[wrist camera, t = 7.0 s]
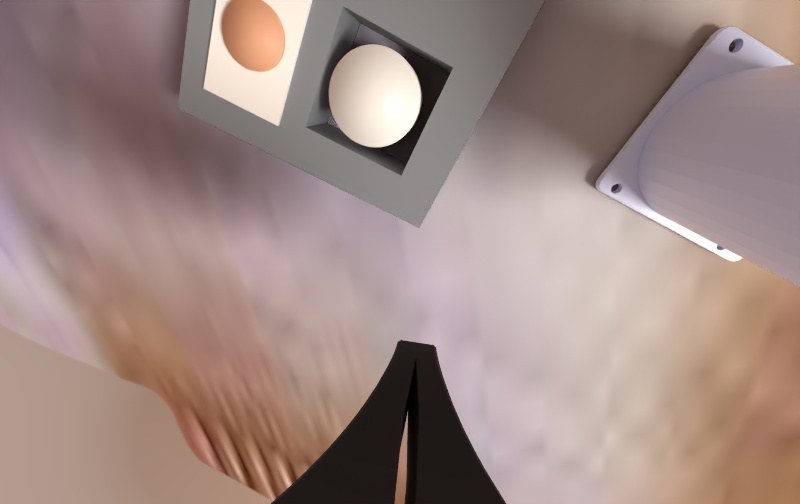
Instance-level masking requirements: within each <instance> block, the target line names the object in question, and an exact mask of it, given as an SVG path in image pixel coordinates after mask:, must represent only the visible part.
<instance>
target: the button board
mask: <svg viewBox="0 0 800 504" xmlns="http://www.w3.org/2000/svg"><path fill="white" fill-rule="evenodd" d="M544 1H545V0H190V5H189V13H188V22H187V31H186V40H185V48H184V57H183V66H182V74H181V83H180V92H179V100H178V109H180V110H182V111H184V112H186V113H188V114H190V115H192V116H194V117H196V118H198V119H200V120H202V121H204V122H206V123H208V124H210V125H212V126H214V127H216V128H218V129H220V130H222V131H224V132H226V133H228V134H230V135H232V136H234V137H236V138H238V139H240V140H242V141H244V142H246V143H248V144H250V145H252V146H254V147H257V148H259V149H261V150H263V151H265V152H267V153H269V154H271V155H273V156H275V157H277V158H279V159H281V160H283V161H285V162H287V163H289V164H291V165H293V166H295V167H297V168H299V169H301V170H303V171H305V172H307V173H309V174H311V175H313V176H315V177H317V178H319V179H321V180H323V181H325V182H327V183H329V184H331V185H333V186H335V187H337V188H339V189H341V190H344V191H346V192H348V193H350V194H352V195H354V196H356V197H358V198H360V199H362V200H364V201H366V202H368V203H370V204H372V205H374V206H376V207H378V208H380V209H382V210H384V211H386V212H388V213H390V214H392V215H394V216H396V217H398V218H400V219H402V220H404V221H406V222H408V223H410V224H412V225H414V226H416V227H418V228H419V227H420V226H421V224H422V222H423V220H424V218H425V217H426V215H427V213H428V211H429V209H430V208H431V206H432V204H433V202H434V200H435V198H436V197H437V195H438V193H439V191H440V189H441V188H442V186H443V184H444V182H445V180H446V179H447V177H448V175H449V173H450V171H451V170H452V168H453V166H454V164H455V162H456V161H457V159H458V157H459V155H460V153H461V151H462V150H463V148H464V146H465V144H466V142H467V141H468V139H469V137H470V135H471V133H472V132H473V130H474V128H475V126H476V124H477V123H478V121H479V119H480V117H481V115H482V113H483V112H484V110H485V108H486V106H487V104H488V103H489V101H490V99H491V97H492V95H493V94H494V92H495V90H496V88H497V86H498V85H499V83H500V81H501V79H502V77H503V76H504V74H505V72H506V70H507V68H508V66H509V65H510V63H511V61H512V59H513V57H514V56H515V54H516V52H517V50H518V48H519V47H520V45H521V43H522V41H523V39H524V38H525V36H526V34H527V32H528V30H529V29H530V27H531V25H532V23H533V21H534V19H535V18H536V16H537V14H538V12H539V10H540V9H541V7H542V5H543V3H544ZM360 23H362V24H363V25H365V26H367V27H369V28H371V29H372V30H374V31H376V32H378V33H380V34H381V35H383V36H385V37H387V38H389V39H390V40H392V41H394V42H396V43H398V44H399V45H401V46H403V47H405V48H407V49H408V50H410V51H412V52H414V53H416V54H418V55H419V56H421V57H423V58H425V59H427V60H428V61H430V62H432V63H434V64H436V65H437V66H439V67H441V68H443V69H445V70H446V71H448V72H450V75H449V77H448V79H447V81H446V83H445V86H444V88H443V90H442V92H441V94H440V96H439V98H438V100H437V102H436V104H435V106H434V109H433V111H432V113H431V115H430V117H429V119H428V121H427V123H426V125H425V127H424V129H423V131H422V134H421V136H420V138H419V140H418V142H417V144H416V146H415V148H414V150H413V152H412V154H411V156H410V159H409V161H408V163H407V164H405V163H404V162H402V161H400V160H398V159H396V158H394V157H392V156H390V155H388V154H386V153H384V152H382V151H380V150H378V149H376V148H374V147H367V146H364V145H361V144H359V143H356V142H355V141H353V140H351V139H350V138H349V137H348V136H346V135H345V134H344V133H343V131H341V130H339V129H337V128H335V127H334V126H332V125H330V124H328V123H327V120H328V117H329V114H330V111H331V108H330V103H329V85H330V80H331V76H332V74H333V71H334V69H335V67H336V66H337V64H338V63H339V61H340V60H341V59H342V58H343V57H344V56H345V55H346V54H347V53H348V52H350V51H351V48H352V45H353V42H354V39H355V36H356V33H357V30H358V27H359V24H360Z"/></svg>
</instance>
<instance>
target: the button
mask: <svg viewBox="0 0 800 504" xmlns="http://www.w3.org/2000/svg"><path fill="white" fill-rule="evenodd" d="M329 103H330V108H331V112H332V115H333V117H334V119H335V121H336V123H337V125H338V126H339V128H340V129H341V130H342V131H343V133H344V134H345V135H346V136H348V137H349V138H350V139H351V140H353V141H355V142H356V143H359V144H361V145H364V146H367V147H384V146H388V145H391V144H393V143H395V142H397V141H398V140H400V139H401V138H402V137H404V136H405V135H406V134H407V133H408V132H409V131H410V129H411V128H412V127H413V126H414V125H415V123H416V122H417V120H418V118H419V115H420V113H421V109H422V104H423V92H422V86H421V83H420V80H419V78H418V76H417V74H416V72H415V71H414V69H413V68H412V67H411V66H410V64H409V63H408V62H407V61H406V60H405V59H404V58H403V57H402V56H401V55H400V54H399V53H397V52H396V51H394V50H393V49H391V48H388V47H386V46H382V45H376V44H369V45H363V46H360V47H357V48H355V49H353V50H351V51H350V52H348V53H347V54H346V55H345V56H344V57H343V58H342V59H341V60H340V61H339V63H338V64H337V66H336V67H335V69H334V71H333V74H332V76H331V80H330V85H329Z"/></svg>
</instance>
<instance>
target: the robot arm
mask: <svg viewBox="0 0 800 504" xmlns="http://www.w3.org/2000/svg"><path fill="white" fill-rule="evenodd" d="M733 40H734V41H735V43H736V44H735V48H734V50H733V51H732V52H730V51H729V45H730V44H731V42H732V41H733ZM615 184H618V188H617V189H616V190H615V191H612V192H611V188H612V186H613V185H615ZM595 186H596V189H597V190H599V191H600V192H602V193H604V194H605V195H607V196H609V197H611V198H613V199H615V200H617V201H618V202H620V203H622V204H624V205H626V206H628V207H630V208H631V209H633V210H635V211H637V212H639V213H641V214H642V215H644V216H646V217H648V218H650V219H652V220H654V221H655V222H657V223H659V224H661V225H663V226H665V227H667V228H668V229H670V230H672V231H674V232H676V233H678V234H679V235H681V236H683V237H685V238H687V239H689V240H691V241H692V242H694V243H696V244H698V245H700V246H702V247H704V248H705V249H707V250H709V251H711V252H713V253H715V254H716V255H718V256H720V257H722V258H724V259H726V260H728V261H731V262H732V261H737V260H740V259H741V258H744V259H746V260H748V261H750V262H751V263H753V264H755V265H757V266H759V267H761V268H763V269H765V270H767V271H769V272H771V273H773V274H774V275H776V276H778V277H780V278H782V279H784V280H786V281H788V282H790V283H792V284H794V285H795V286H797V287H799V288H800V64H794V63H792V62H790V61H789V60H787V59H786V58H784V57H783V56H781V55H779V54H778V53H776V52H775V51H773V50H772V49H770V48H768V47H767V46H765V45H764V44H762V43H760V42H759V41H757V40H756V39H754V38H753V37H751V36H749V35H748V34H746V33H745V32H743V31H742V30H740V29H738V28H737V27H734V26H729V27H724V28H721V29H719V30H717V31H715V32H714V33H713V34H712V35H711V36H710V38H709V39H708V40H707V41H706V43H705V44H704V45H703V46H702V48H701V49H700V50H699V52H698V53H697V54H696V55H695V57H694V58H693V59H692V60H691V62H690V63H689V64H688V65H687V67H686V68H685V69H684V70H683V72H682V73H681V74H680V76H679V77H678V78H677V79H676V81H675V82H674V83H673V84H672V86H671V87H670V88H669V89H668V91H667V92H666V93H665V94H664V96H663V97H662V98H661V99H660V101H659V102H658V103H657V105H656V106H655V107H654V108H653V110H652V111H651V112H650V113H649V115H648V116H647V117H646V118H645V120H644V121H643V122H642V123H641V125H640V126H639V127H638V129H637V130H636V131H635V132H634V134H633V135H632V136H631V137H630V139H629V140H628V141H627V142H626V144H625V145H624V146H623V147H622V149H621V150H620V151H619V152H618V154H617V155H616V156H615V158H614V159H613V160H612V161H611V163H610V164H609V165H608V166H607V168H606V169H605V170H604V171H603V173H602V174H601V175H600V176H599V178H598V179H597V181H596V185H595ZM717 245H719V246H718V247H717ZM407 412H408V439H407V481H406V495H405V504H506V503H505V501H504V499H503V498H502V496H501V495H500V493H499V491H498V490H497V488H496V486H495V485H494V483H493V482H492V480H491V478H490V477H489V475H488V473H487V472H486V470H485V468H484V467H483V465H482V463H481V461H480V459H479V458H478V456H477V454H476V452H475V450H474V448H473V447H472V445H471V443H470V441H469V439H468V437H467V435H466V433H465V431H464V428H463V426H462V424H461V422H460V420H459V417H458V415H457V413H456V410H455V408H454V406H453V403H452V401H451V398H450V395H449V393H448V390H447V387H446V384H445V381H444V378H443V375H442V372H441V368H440V365H439V361H438V356H437V351H436V347H435V346H434V345H429V344H422V343H416V342H409V341H403V340H401V341H399V342H398V343H397V347H396V350H395V352H394V355H393V357H392V359H391V361H390V363H389V365H388V367H387V369H386V371H385V372H384V374H383V376H382V377H381V379H380V381H379V383H378V384H377V386H376V387H375V389H374V390H373V392H372V393H371V395H370V396H369V398H368V399H367V401H366V402H365V404H364V405H363V407H362V408H361V409H360V411H359V412H358V413H357V415H356V416H355V417H354V419H353V420H352V421H351V422H350V424H349V425H348V426H347V427H346V429H345V430H344V431H343V432H342V433H341V434H340V436H339V437H338V438H337V439H336V440H335V441H334V443H333V444H332V445H331V446H330V447H329V448H328V449H327V450H326V451H325V452H324V454H323V455H322V456H321V457H320V458H319V459H318V460H317V461H316V462H315V463H314V464H313V465H312V466H311V467H310V468H309V469H308V470H307V471H306V472H305V473H304V474H303V475H302V476H301V477H300V478H299V479H298V480H297V481H296V482H294V483H293V484H292V485H291V486H290V487H289V488H288V489H287V490H286V491H284V492H283V493H282V494H281V495H280V496H279V497H278V498H277V499H275V500H274V501H273V502H272V503H271V504H394V501H395V491H396V482H397V472H398V463H399V453H400V447H401V442H402V437H403V432H404V427H405V422H406V417H407Z"/></svg>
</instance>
